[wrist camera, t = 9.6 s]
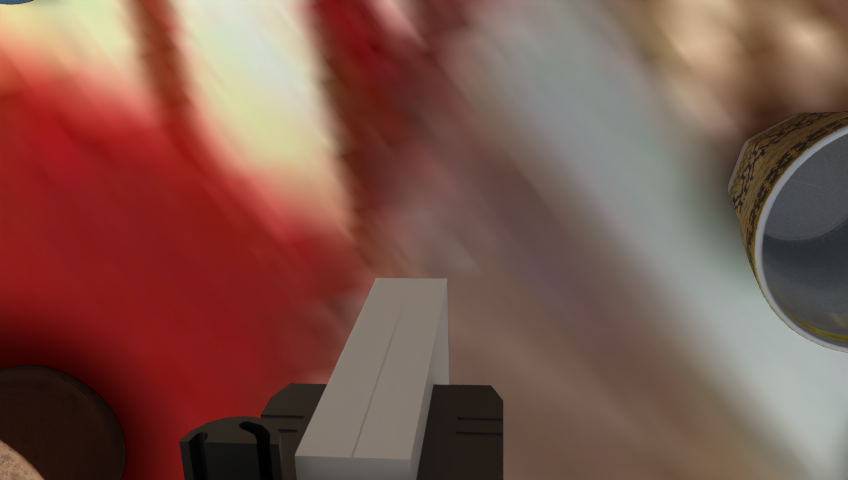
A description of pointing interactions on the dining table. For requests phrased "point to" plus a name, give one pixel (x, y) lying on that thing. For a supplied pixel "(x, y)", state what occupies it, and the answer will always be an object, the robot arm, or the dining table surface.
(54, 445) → the pitcher
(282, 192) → the dining table surface
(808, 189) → the ceramic cup
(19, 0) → the ball
